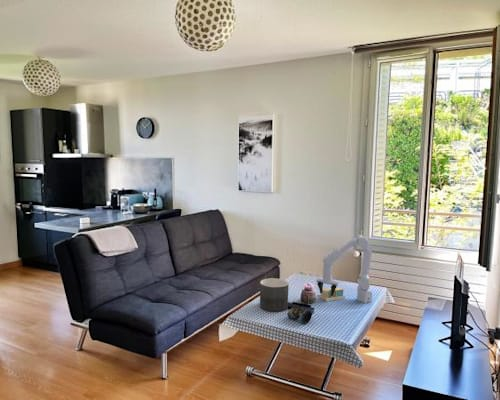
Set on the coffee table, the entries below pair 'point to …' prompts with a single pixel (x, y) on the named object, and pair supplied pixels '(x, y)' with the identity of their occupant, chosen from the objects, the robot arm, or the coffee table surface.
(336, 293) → the carton faced
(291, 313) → the figurine
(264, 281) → the planter
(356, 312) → the coffee table surface
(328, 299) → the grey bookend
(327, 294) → the carton
